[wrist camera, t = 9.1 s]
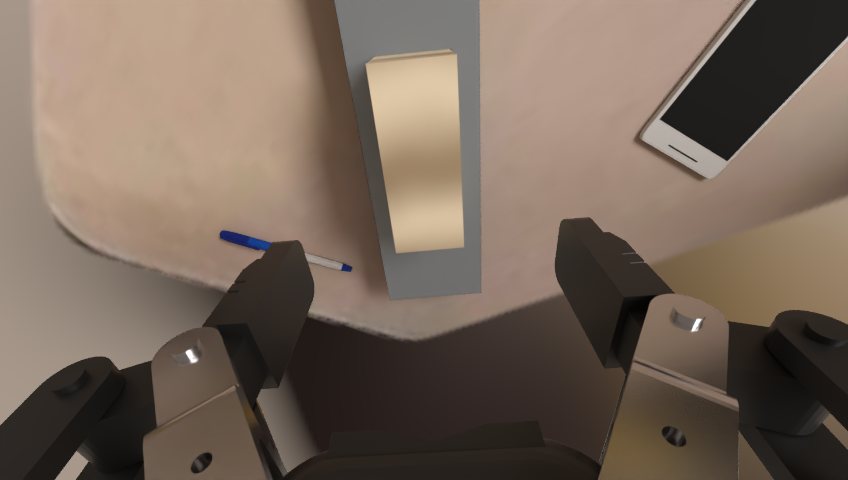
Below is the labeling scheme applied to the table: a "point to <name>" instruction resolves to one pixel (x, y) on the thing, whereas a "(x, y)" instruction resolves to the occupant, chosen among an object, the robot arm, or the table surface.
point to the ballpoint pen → (265, 245)
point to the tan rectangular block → (420, 146)
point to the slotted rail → (460, 32)
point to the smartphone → (745, 79)
